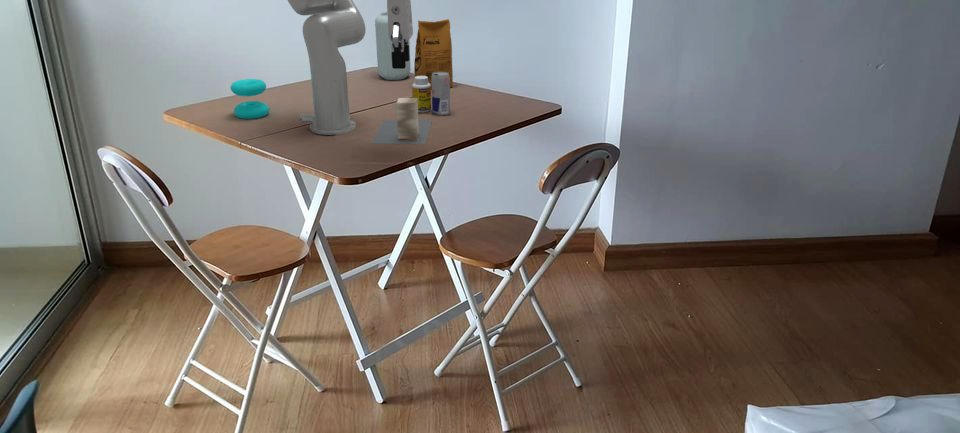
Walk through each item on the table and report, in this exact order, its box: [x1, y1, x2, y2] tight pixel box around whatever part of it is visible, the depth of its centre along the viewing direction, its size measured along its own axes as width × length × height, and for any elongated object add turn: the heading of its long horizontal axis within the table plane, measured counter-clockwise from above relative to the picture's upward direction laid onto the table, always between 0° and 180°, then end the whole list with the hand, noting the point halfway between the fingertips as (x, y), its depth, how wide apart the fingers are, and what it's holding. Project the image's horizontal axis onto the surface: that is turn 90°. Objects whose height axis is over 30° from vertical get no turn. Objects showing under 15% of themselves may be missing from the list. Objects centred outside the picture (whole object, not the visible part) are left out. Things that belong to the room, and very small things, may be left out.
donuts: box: [230, 78, 270, 120], centre depth 216 cm, size 10×10×10 cm
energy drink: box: [431, 72, 451, 117], centre depth 217 cm, size 5×5×12 cm
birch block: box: [395, 97, 419, 140], centre depth 196 cm, size 5×5×10 cm
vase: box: [374, 11, 411, 81], centre depth 257 cm, size 12×12×22 cm
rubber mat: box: [371, 119, 433, 145], centre depth 203 cm, size 14×22×1 cm, turn 178°
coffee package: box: [413, 18, 454, 89], centre depth 245 cm, size 10×12×22 cm
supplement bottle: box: [411, 76, 432, 114], centre depth 221 cm, size 6×6×10 cm
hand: (401, 64), depth 181 cm, fingers open, 7 cm apart
